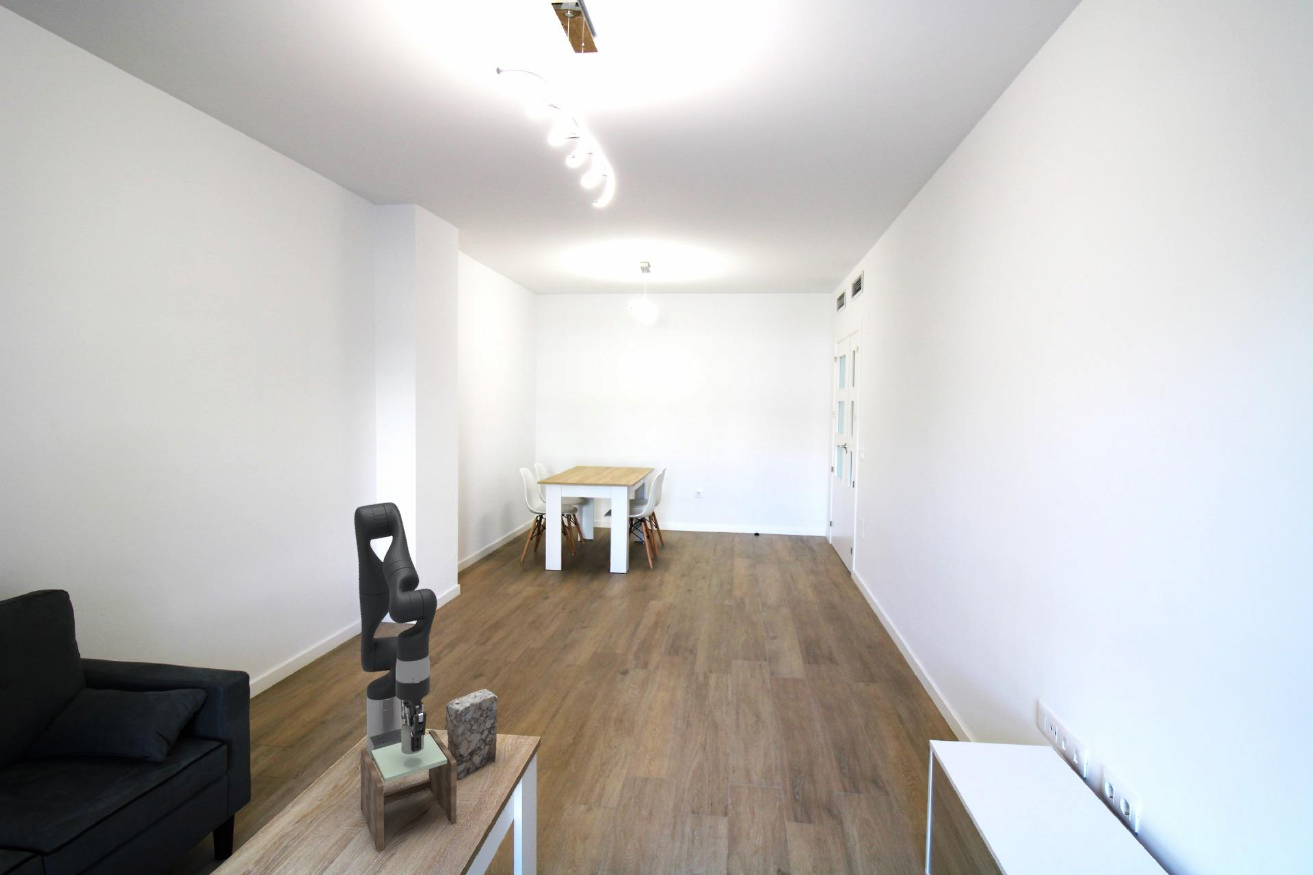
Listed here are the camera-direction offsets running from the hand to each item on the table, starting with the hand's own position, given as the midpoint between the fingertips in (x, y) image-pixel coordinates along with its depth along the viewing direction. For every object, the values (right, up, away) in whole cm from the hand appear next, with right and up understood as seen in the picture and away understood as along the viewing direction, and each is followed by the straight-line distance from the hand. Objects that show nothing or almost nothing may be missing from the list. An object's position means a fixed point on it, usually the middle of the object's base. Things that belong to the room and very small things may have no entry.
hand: (412, 744), depth 148 cm
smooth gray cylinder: (0, -1, 0) cm, 1 cm away
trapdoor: (-4, -7, +6) cm, 10 cm away
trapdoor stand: (-3, -20, +4) cm, 20 cm away
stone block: (+7, -19, +25) cm, 32 cm away
